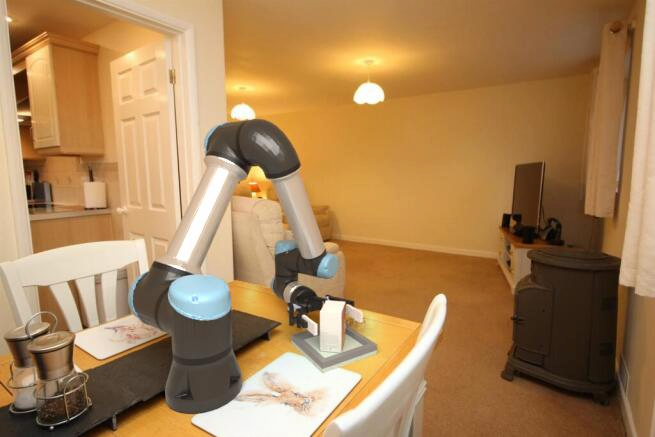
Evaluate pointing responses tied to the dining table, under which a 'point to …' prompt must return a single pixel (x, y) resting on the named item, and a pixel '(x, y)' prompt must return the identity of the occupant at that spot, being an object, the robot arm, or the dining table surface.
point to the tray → (325, 361)
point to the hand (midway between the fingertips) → (339, 323)
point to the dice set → (355, 322)
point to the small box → (332, 326)
